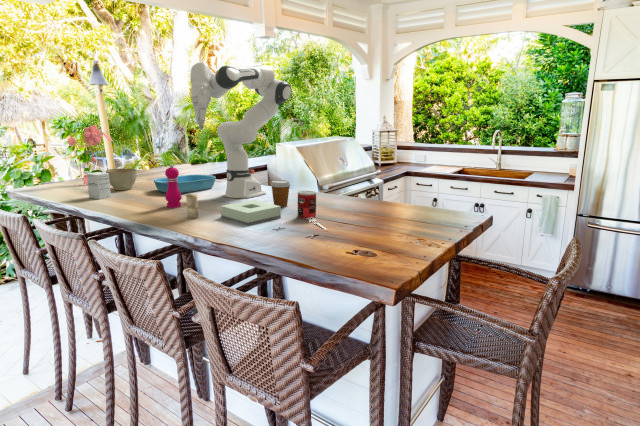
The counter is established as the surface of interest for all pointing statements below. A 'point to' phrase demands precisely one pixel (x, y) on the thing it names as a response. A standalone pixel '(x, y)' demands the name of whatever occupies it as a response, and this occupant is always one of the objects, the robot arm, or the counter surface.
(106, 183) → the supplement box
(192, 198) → the birch peg
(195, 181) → the casserole dish
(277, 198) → the disposable coffee cup
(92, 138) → the red flower plant
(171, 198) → the pepper mill
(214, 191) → the counter surface
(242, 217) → the socket block
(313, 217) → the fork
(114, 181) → the planter bowl
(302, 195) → the canned food
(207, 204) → the counter surface
